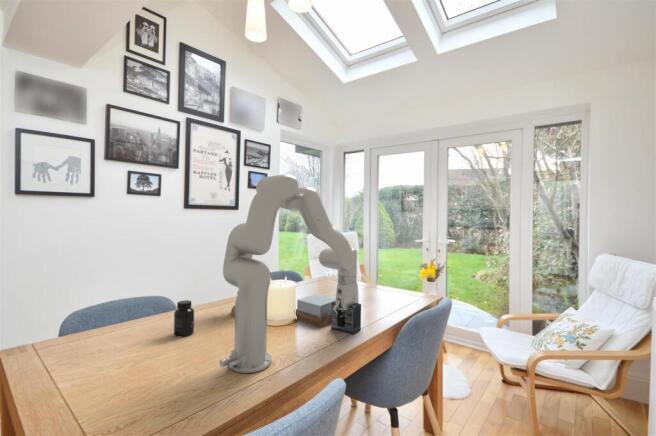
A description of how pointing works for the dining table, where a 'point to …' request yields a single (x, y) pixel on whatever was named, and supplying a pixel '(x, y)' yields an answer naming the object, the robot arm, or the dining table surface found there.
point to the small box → (348, 319)
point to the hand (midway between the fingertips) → (346, 323)
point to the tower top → (316, 304)
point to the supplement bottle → (184, 319)
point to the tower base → (314, 318)
